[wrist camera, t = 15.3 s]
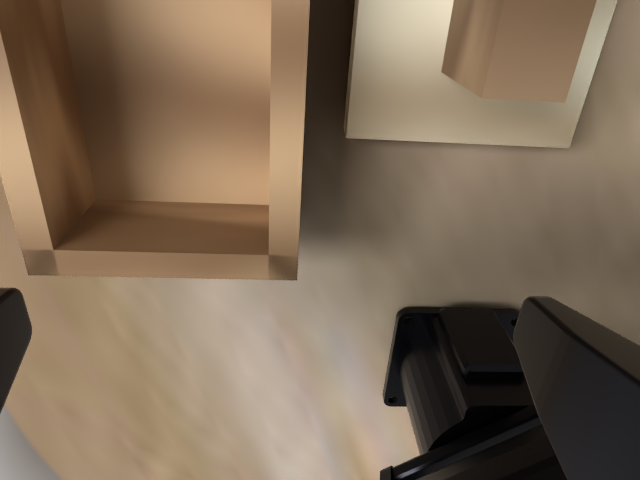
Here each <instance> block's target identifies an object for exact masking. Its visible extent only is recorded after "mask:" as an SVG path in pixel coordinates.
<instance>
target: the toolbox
mask: <svg viewBox="0 0 640 480" xmlns="http://www.w3.org/2000/svg"><path fill="white" fill-rule="evenodd" d="M309 11H310V0H0V175H1V179H2V182H3V186H4V189H5V193H6V197H7V200H8V204H9V207H10V211H11V215H12V218H13V222H14V225H15V229H16V232H17V236H18V240H19V243H20V247H21V250H22V254H23V257H24V261H25V265H26V268H27V272H28V275H51V276H102V277H153V278H205V279H256V280H297V269H298V248H299V226H300V204H301V183H302V161H303V140H304V118H305V97H306V75H307V54H308V32H309Z"/></svg>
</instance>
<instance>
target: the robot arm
mask: <svg viewBox="0 0 640 480" xmlns="http://www.w3.org/2000/svg"><path fill="white" fill-rule="evenodd" d="M406 317H411V318H410V319H408V320H404V318H406ZM515 318H516V320H514V321H512V320H513V319H515ZM31 335H32V326H31V322H30V318H29V315H28V312H27V308H26V305H25V301H24V298H23V295H22V293H21V292H20V291H19V290H18V289H16V288H0V413H1V411H2V408H3V406H4V404H5V401H6V399H7V396H8V394H9V391H10V389H11V387H12V384H13V382H14V379H15V377H16V374H17V372H18V369H19V367H20V364H21V362H22V359H23V357H24V354H25V352H26V350H27V347H28V345H29V342H30V339H31ZM391 397H392V398H391ZM383 400H384V403H385V404H386V405H387V406H407V408H408V412H409V416H410V419H411V423H412V427H413V430H414V434H415V438H416V441H417V445H418V449H419V452H420V455H419V456H417V457H415V458H413V459H411V460H408V461H406V462H404V463H402V464H400V465H397V466H395V467H393V466H390V467H387V468H385V469H383V470H381V471H380V480H640V346H639V345H637V344H635V343H633V342H632V341H630V340H628V339H626V338H624V337H622V336H621V335H619V334H617V333H615V332H613V331H612V330H610V329H608V328H606V327H604V326H602V325H601V324H599V323H597V322H595V321H593V320H591V319H590V318H588V317H586V316H584V315H582V314H580V313H579V312H577V311H575V310H573V309H571V308H569V307H568V306H566V305H564V304H562V303H560V302H558V301H557V300H555V299H553V298H551V297H540V296H530V297H528V298H526V299H525V300H524V302H523V304H522V307H521V310H520V311H519V310H515V309H471V308H404V309H402V310H400V311H399V312H398V313H397V316H396V321H395V327H394V333H393V338H392V344H391V350H390V356H389V361H388V367H387V373H386V378H385V384H384V390H383Z"/></svg>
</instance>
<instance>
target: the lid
mask: <svg viewBox="0 0 640 480" xmlns="http://www.w3.org/2000/svg"><path fill="white" fill-rule="evenodd" d="M617 1H618V0H355V6H354V17H353V28H352V39H351V51H350V62H349V73H348V84H347V96H346V107H345V118H344V133H345V136H346V138H355V139H377V140H399V141H421V142H444V143H466V144H488V145H510V146H532V147H555V148H569V147H570V144H571V141H572V138H573V135H574V132H575V129H576V126H577V123H578V120H579V117H580V114H581V111H582V108H583V105H584V102H585V98H586V95H587V92H588V89H589V86H590V83H591V80H592V77H593V74H594V71H595V68H596V65H597V62H598V59H599V56H600V53H601V50H602V47H603V44H604V41H605V37H606V34H607V31H608V28H609V25H610V22H611V19H612V16H613V13H614V10H615V7H616V4H617Z"/></svg>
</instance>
